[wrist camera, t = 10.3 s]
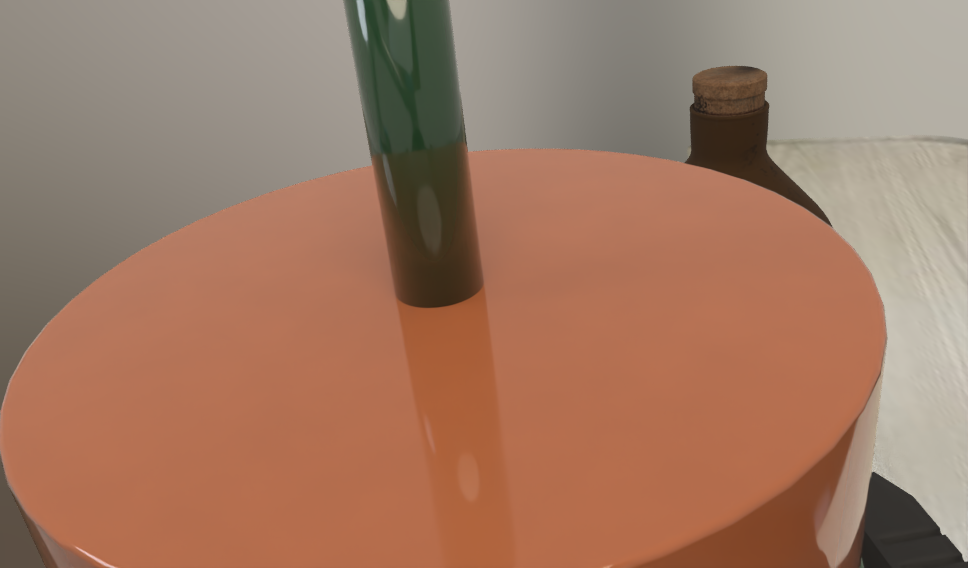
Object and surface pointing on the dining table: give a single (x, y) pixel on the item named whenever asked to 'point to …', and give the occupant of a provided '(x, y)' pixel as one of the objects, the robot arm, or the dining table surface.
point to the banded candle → (460, 364)
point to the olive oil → (738, 131)
